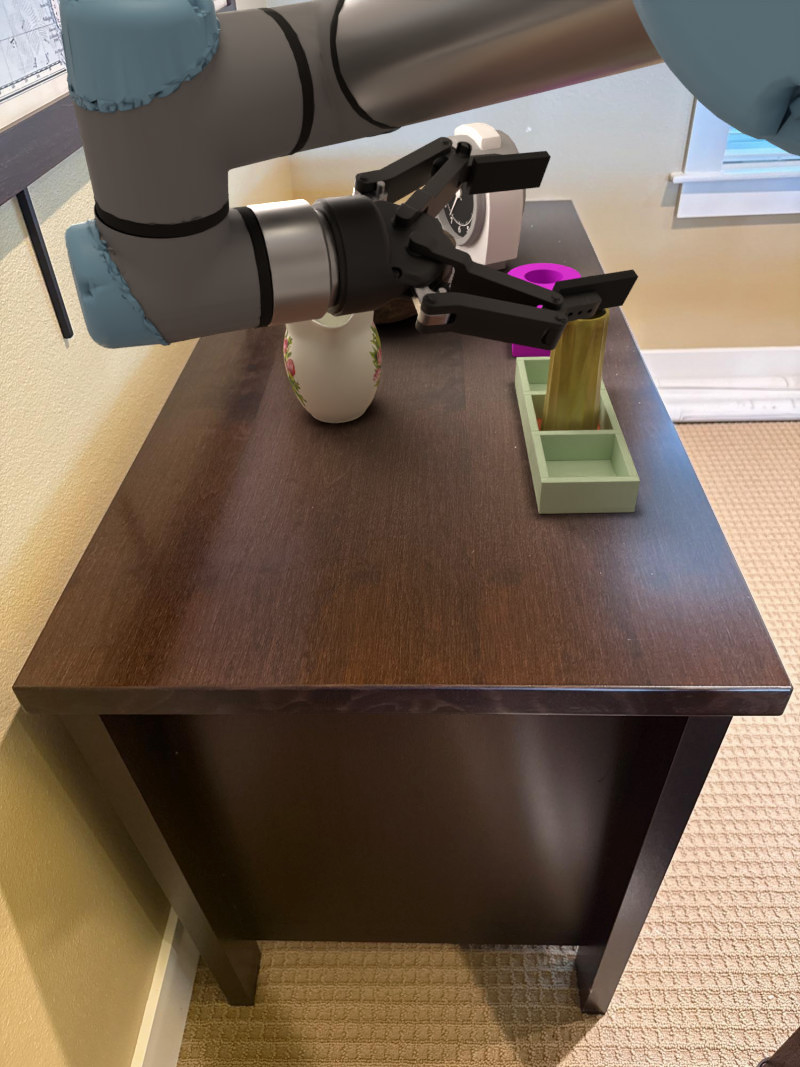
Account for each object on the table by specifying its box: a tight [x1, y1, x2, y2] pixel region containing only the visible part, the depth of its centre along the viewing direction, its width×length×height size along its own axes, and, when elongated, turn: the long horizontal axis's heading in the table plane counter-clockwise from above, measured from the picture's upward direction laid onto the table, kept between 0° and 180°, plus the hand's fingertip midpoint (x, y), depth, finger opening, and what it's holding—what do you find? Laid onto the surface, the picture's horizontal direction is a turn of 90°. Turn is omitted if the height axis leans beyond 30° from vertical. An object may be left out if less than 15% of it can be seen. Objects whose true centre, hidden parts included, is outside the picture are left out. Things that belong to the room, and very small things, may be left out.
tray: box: [514, 357, 641, 515], centre depth 83 cm, size 26×9×4 cm, turn 179°
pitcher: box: [283, 311, 383, 424], centre depth 88 cm, size 11×18×14 cm, turn 10°
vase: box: [540, 308, 611, 431], centre depth 79 cm, size 6×6×14 cm
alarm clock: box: [435, 121, 527, 271], centre depth 121 cm, size 18×8×20 cm, turn 25°
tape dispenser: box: [507, 262, 582, 358], centre depth 104 cm, size 16×10×6 cm, turn 175°
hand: (583, 225), depth 59 cm, fingers open, 13 cm apart
